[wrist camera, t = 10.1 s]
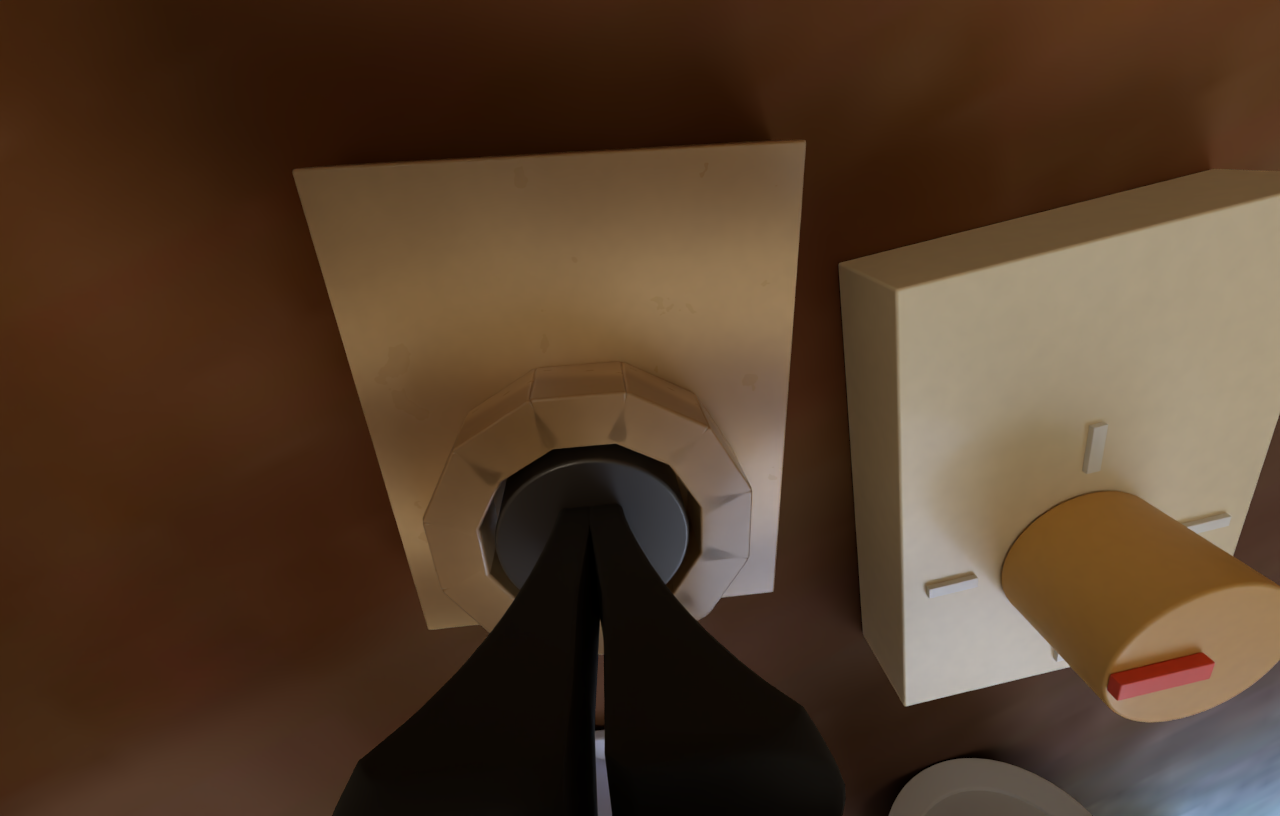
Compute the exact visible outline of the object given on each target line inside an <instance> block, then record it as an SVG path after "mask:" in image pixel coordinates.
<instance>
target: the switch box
mask: <svg viewBox="0 0 1280 816" xmlns="http://www.w3.org/2000/svg"><path fill="white" fill-rule="evenodd" d="M805 153H806V141H805V140H803V139H800V140H765V141H748V142H730V143H712V144H695V145H677V146H659V147H642V148H624V149H607V150H589V151H571V152H554V153H536V154H518V155H501V156H483V157H466V158H448V159H430V160H413V161H395V162H378V163H360V164H342V165H329V166H317V167H305V168H295V169H293V170H292V174H293V177H294V180H295V184H296V187H297V190H298V194H299V197H300V201H301V204H302V207H303V211H304V214H305V217H306V221H307V224H308V227H309V231H310V234H311V237H312V241H313V244H314V248H315V251H316V254H317V258H318V261H319V264H320V268H321V271H322V274H323V278H324V281H325V284H326V288H327V291H328V295H329V298H330V301H331V305H332V308H333V311H334V315H335V318H336V321H337V325H338V328H339V332H340V335H341V338H342V342H343V345H344V348H345V352H346V355H347V358H348V362H349V365H350V368H351V372H352V375H353V379H354V382H355V385H356V389H357V392H358V395H359V399H360V402H361V405H362V409H363V412H364V415H365V419H366V422H367V426H368V429H369V432H370V436H371V439H372V442H373V446H374V449H375V452H376V456H377V459H378V463H379V466H380V469H381V473H382V476H383V479H384V483H385V486H386V489H387V493H388V496H389V499H390V503H391V506H392V510H393V513H394V516H395V520H396V523H397V526H398V530H399V533H400V536H401V540H402V543H403V546H404V550H405V553H406V557H407V560H408V563H409V567H410V570H411V573H412V577H413V580H414V583H415V587H416V590H417V593H418V597H419V600H420V604H421V607H422V610H423V614H424V617H425V620H426V624H427V627H428V629H429V630H435V629H444V628H453V627H462V626H471V625H481V626H482V627H483V628H484V629H485V630H487V631H488V632H489V633H491V631H492V630H493V629H494V627H495V626H496V625H497V623H498V622H499V621H500V619H501V618H502V617H503V615H504V614H505V612H506V611H507V609H508V608H509V607H510V605H511V604H512V602H513V601H514V599H515V597H516V596H517V594H518V593H519V591H520V590H519V589H518V588H517V587H516V586H515V585H514V584H513V583H512V582H511V581H510V579H509V578H508V576H507V575H506V573H505V572H504V570H503V568H502V566H501V564H500V561H499V559H498V555H497V552H496V545H495V530H496V525H497V521H498V516H499V512H500V507H501V503H502V498H503V494H504V489H505V485H506V481H507V478H508V477H510V476H511V475H513V474H514V473H516V472H518V471H519V470H521V469H522V468H524V467H526V466H527V465H529V464H530V463H532V462H533V461H535V460H537V459H538V458H540V457H541V456H543V455H545V454H546V453H548V452H549V451H551V450H552V449H562V448H573V447H584V446H595V445H606V444H618V445H620V446H623V447H625V448H628V449H631V450H633V451H636V452H638V453H641V454H643V455H646V456H648V457H651V458H653V459H656V460H658V461H661V462H663V463H666V464H668V465H670V467H671V468H672V469H673V471H674V472H675V475H676V478H677V482H678V485H679V489H680V492H681V496H682V499H683V503H684V506H685V510H686V514H687V517H688V521H689V542H688V547H687V551H686V554H685V556H684V559H683V561H682V563H681V565H680V567H679V569H678V570H677V572H676V573H675V575H674V576H673V577H672V579H671V580H670V581H669V582H668V583H667V584H666V586H667V587H668V588H669V589H670V591H671V592H672V593H673V595H674V596H675V597H676V598H677V599H678V601H679V602H680V603H681V604H682V605H683V606H684V607H685V609H686V610H687V611H688V612H689V613H690V614H691V615H692V616H693V617H694V618H695V620H696V621H698V620H699V619H701V618H703V617H705V616H707V615H708V614H709V613H710V612H711V611H712V609H713V608H714V607H715V605H716V604H717V602H718V601H719V600H720V598H724V597H733V596H742V595H751V594H760V593H769V592H773V591H774V583H775V569H776V555H777V541H778V527H779V514H780V500H781V486H782V472H783V458H784V444H785V430H786V416H787V403H788V389H789V375H790V361H791V347H792V333H793V319H794V305H795V292H796V278H797V264H798V250H799V236H800V222H801V208H802V194H803V180H804V167H805ZM601 654H604V640H603V634H602V627H601V620H600V629H599V649H598V655H601Z"/></svg>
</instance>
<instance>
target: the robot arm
mask: <svg viewBox="0 0 1280 816" xmlns="http://www.w3.org/2000/svg"><path fill="white" fill-rule="evenodd" d="M600 620H601V627H602V634H603V640H604V698H605V729H604V730H596V731H595V706H596V687H597V668H598V649H599V629H600ZM844 805H845V783H844V781H843V779H842V776H841V773H840V770H839V768H838V766H837V764H836V762H835V759H834V758H833V756H832V754H831V752H830V750H829V748H828V746H827V745H826V743H825V741H824V739H823V738H822V736H821V734H820V732H819V731H818V729H817V727H816V726H815V724H814V723H813V721H812V720H811V718H810V716H809V715H808V713H807V712H806V710H805V709H804V707H803V706H801V705H800V704H799V703H797V702H796V701H794V700H793V699H791V698H790V697H788V696H787V695H785V694H784V693H782V692H781V691H779V690H778V689H776V688H775V687H773V686H772V685H770V684H769V683H768V682H766V681H765V680H763V679H762V678H761V677H760V676H758V675H757V674H756V673H754V672H753V671H752V670H751V669H749V668H748V667H747V666H746V665H744V664H743V663H742V662H741V661H739V660H738V659H737V658H736V657H735V656H734V655H733V654H731V653H730V652H729V651H728V650H727V649H726V648H725V647H724V646H723V645H721V644H720V643H719V642H718V641H717V640H716V639H715V638H714V637H713V636H711V635H710V634H709V633H708V632H707V631H706V630H705V629H704V628H703V627H702V626H701V625H700V624H699V623H698V622H697V621H696V620H695V618H694V617H693V616H692V615H691V614H690V613H689V612H688V611H687V610H686V609H685V607H684V606H683V605H682V604H681V603H680V602H679V601H678V599H677V598H676V597H675V596H674V595H673V593H672V592H671V591H670V589H669V588H668V587H667V586H666V584H665V583H664V582H663V580H662V579H661V578H660V576H659V575H658V573H657V572H656V571H655V569H654V568H653V566H652V565H651V563H650V562H649V560H648V558H647V557H646V555H645V554H644V552H643V550H642V549H641V547H640V546H639V544H638V542H637V540H636V538H635V537H634V535H633V533H632V531H631V529H630V527H629V524H628V522H627V520H626V517H625V515H624V512H623V507H621V506H620V505H619V504H618V503H616V504H606V505H596V506H586V507H576V508H565V509H562V510H561V511H560V512H559V513H558V516H557V519H556V522H555V525H554V527H553V530H552V532H551V534H550V536H549V539H548V541H547V543H546V545H545V547H544V549H543V551H542V553H541V555H540V557H539V558H538V560H537V562H536V564H535V566H534V568H533V570H532V571H531V573H530V575H529V577H528V578H527V580H526V581H525V583H524V585H523V586H522V588H521V589H520V591H519V593H518V594H517V596H516V597H515V599H514V601H513V602H512V604H511V605H510V607H509V608H508V609H507V611H506V612H505V614H504V615H503V617H502V618H501V619H500V621H499V622H498V623H497V625H496V626H495V627H494V629H493V630H492V631H491V633H490V634H489V635H488V636H487V638H486V639H485V640H484V641H483V643H482V644H481V645H480V646H479V647H478V648H477V650H476V651H475V652H474V653H473V654H472V656H471V657H470V658H469V659H468V660H467V661H466V663H465V664H464V665H463V666H462V667H461V668H460V669H459V670H458V671H457V673H456V674H455V675H454V676H453V677H452V678H451V679H450V680H449V681H448V682H447V683H446V684H445V685H444V686H443V687H442V688H441V689H440V690H439V691H438V692H437V693H436V694H435V695H434V696H433V697H432V698H431V699H430V700H429V701H428V702H427V703H426V704H425V705H424V706H423V707H422V708H421V709H420V710H418V711H417V712H416V713H415V714H414V715H413V716H412V717H411V718H410V719H409V720H408V721H406V722H405V723H404V724H403V725H402V726H400V727H399V728H398V729H397V730H396V731H394V732H393V733H392V734H391V735H390V736H388V737H387V738H386V739H385V740H384V741H382V742H381V743H380V744H379V745H378V746H376V747H375V748H374V749H373V750H372V751H370V752H369V753H368V754H367V755H365V756H364V757H363V758H362V759H360V760H359V761H358V763H357V765H356V767H355V769H354V771H353V773H352V775H351V777H350V779H349V781H348V783H347V785H346V787H345V789H344V791H343V793H342V795H341V797H340V799H339V802H338V804H337V806H336V808H335V810H334V812H333V815H332V816H842V815H843V810H844Z"/></svg>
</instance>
